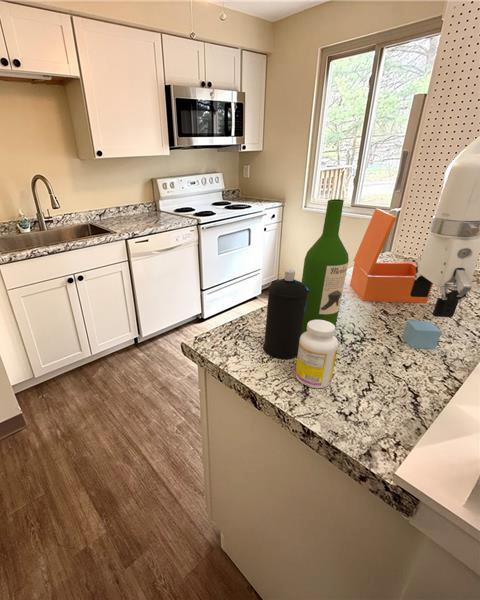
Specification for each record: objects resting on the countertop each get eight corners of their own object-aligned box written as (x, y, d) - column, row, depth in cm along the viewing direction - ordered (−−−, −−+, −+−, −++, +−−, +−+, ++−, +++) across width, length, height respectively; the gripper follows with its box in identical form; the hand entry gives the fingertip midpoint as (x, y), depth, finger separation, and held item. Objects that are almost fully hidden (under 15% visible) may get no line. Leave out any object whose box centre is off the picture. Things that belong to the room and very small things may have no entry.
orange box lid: (378, 208, 91) (375, 208, 91) (396, 217, 80) (393, 216, 80) (356, 261, 99) (353, 260, 99) (370, 275, 88) (367, 274, 88)
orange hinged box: (406, 285, 98) (413, 262, 94) (426, 303, 87) (435, 277, 84) (349, 284, 102) (354, 262, 99) (362, 301, 91) (368, 276, 88)
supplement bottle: (316, 366, 67) (325, 314, 62) (338, 386, 61) (351, 330, 56) (288, 372, 67) (294, 320, 61) (307, 392, 61) (317, 337, 55)
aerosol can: (281, 363, 69) (291, 281, 61) (255, 346, 76) (260, 269, 68) (308, 352, 72) (321, 272, 63) (280, 336, 79) (289, 262, 70)
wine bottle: (314, 343, 75) (337, 205, 61) (287, 326, 83) (303, 201, 69) (343, 334, 77) (371, 199, 63) (314, 318, 85) (334, 195, 71)
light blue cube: (425, 338, 73) (430, 321, 71) (435, 349, 69) (442, 331, 67) (401, 336, 74) (406, 320, 72) (410, 347, 70) (416, 330, 68)
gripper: (515, 238, 52) (477, 326, 59) (454, 218, 66) (429, 290, 74) (459, 238, 54) (429, 324, 61) (412, 218, 69) (392, 289, 76)
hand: (429, 305), depth 67 cm, fingers open, 9 cm apart
